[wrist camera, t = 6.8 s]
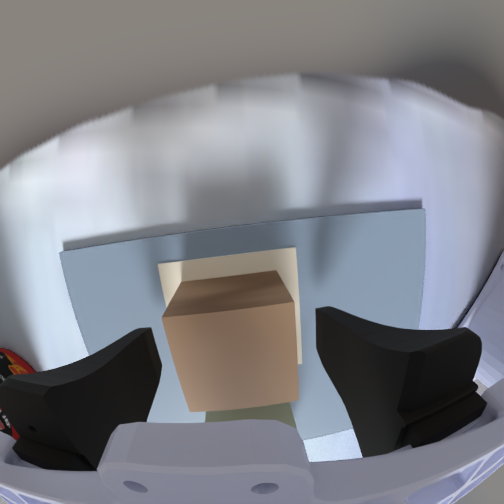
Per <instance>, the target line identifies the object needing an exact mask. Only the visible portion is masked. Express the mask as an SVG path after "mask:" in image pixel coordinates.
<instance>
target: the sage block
mask: <svg viewBox="0 0 504 504" xmlns="http://www.w3.org/2000/svg"><path fill="white" fill-rule="evenodd" d="M245 419H260V420H278V421H280V422H282V423H284V424H287V425H289V426H291V427H294V428H296V429H297V427H296V423H295V420H294V416H293V412H292V409H291V405H290V402H287V403H281V404H274V405H267V406H260V407H252V408H243V409H233V410H221V411H206V415H205V422H222V421H235V420H245ZM297 431H298V430H297Z"/></svg>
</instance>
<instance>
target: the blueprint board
mask: <svg viewBox="0 0 504 504" xmlns="http://www.w3.org/2000/svg"><path fill="white" fill-rule="evenodd" d="M425 248H426V216H425V209H423V208H418V209H404V210H391V211H378V212H366V213H354V214H343V215H333V216H322V217H312V218H302V219H293V220H283V221H274V222H265V223H257V224H248V225H240V226H231V227H223V228H215V229H208V230H200V231H192V232H185V233H177V234H170V235H163V236H156V237H149V238H142V239H136V240H129V241H122V242H116V243H110V244H103V245H97V246H91V247H85V248H79V249H73V250H67V251H62V252H60V253H59V254H60V259H61V264H62V268H63V273H64V277H65V281H66V285H67V289H68V293H69V296H70V300H71V303H72V307H73V310H74V313H75V316H76V320H77V323H78V326H79V329H80V332H81V334H82V337H83V340H84V343H85V345H86V348H87V351H88V353H89V356H90V355H92V354H94V353H96V352H97V351H99V350H101V349H103V348H105V347H106V346H108V345H110V344H111V343H113V342H115V341H116V340H118V339H120V338H121V337H123V336H124V335H126V334H128V333H129V332H131V331H133V330H135V329H138V328H146V327H151V328H152V331H153V335H154V339H155V342H156V346H157V349H158V352H159V356H160V359H161V362H162V371H161V377H160V383H159V386H158V389H157V392H156V395H155V398H154V401H153V404H152V407H151V410H150V413H149V416H148V419H147V422H151V423H204V422H205V415H206V412H190V411H189V408H188V405H187V402H186V400H185V397H184V394H183V391H182V388H181V385H180V381H179V378H178V375H177V372H176V369H175V365H174V362H173V358H172V355H171V352H170V348H169V344H168V341H167V337H166V333H165V330H164V326H163V322H162V318H161V317H162V315H163V314H164V312H165V310H166V308H167V306H168V304H169V303H170V301H171V299H172V297H173V295H174V294H175V292H176V290H177V288H178V287H179V285H180V283H181V282H184V281H193V280H201V279H210V278H218V277H226V276H234V275H242V274H250V273H258V272H266V271H273V270H277V272H278V274H279V276H280V277H281V279H282V281H283V283H284V284H285V286H286V288H287V290H288V291H289V293H290V295H291V297H292V298H293V300H294V303H295V319H296V337H297V357H298V382H299V400H298V401H292V402H290V405H291V409H292V412H293V416H294V420H295V423H296V427H297V430H298V433H299V435H300V437H301V439H302V440H307V439H312V438H317V437H321V436H326V435H330V434H334V433H338V432H341V431H345V430H349V429H352V428H353V426H352V423H351V421H350V418H349V415H348V413H347V410H346V408H345V405H344V403H343V401H342V399H341V397H340V396H339V394H338V392H337V390H336V389H335V387H334V385H333V383H332V382H331V380H330V378H329V376H328V374H327V373H326V371H325V369H324V367H323V365H322V363H321V360H320V358H319V355H318V352H317V349H316V316H315V308H320V307H326V306H331V307H334V308H337V309H340V310H342V311H345V312H347V313H350V314H352V315H355V316H357V317H360V318H363V319H366V320H369V321H372V322H375V323H379V324H383V325H387V326H392V327H397V328H404V329H414V330H418V328H419V321H420V314H421V305H422V296H423V285H424V271H425Z"/></svg>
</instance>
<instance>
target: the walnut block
mask: <svg viewBox="0 0 504 504" xmlns="http://www.w3.org/2000/svg"><path fill="white" fill-rule="evenodd" d="M161 318H162V322H163V326H164V330H165V333H166V337H167V341H168V344H169V348H170V352H171V355H172V358H173V362H174V365H175V369H176V372H177V375H178V378H179V381H180V385H181V388H182V391H183V394H184V397H185V400H186V402H187V405H188V408H189V411H190V412H206V411H221V410H233V409H243V408H252V407H260V406H267V405H274V404H281V403H287V402H292V401H298V400H299V382H298V357H297V337H296V319H295V303H294V300H293V298H292V297H291V295H290V293H289V291H288V290H287V288H286V286H285V284H284V283H283V281H282V279H281V277H280V276H279V274H278V272H277V270H273V271H266V272H258V273H250V274H242V275H234V276H226V277H218V278H210V279H201V280H193V281H184V282H181V283H180V285H179V287H178V288H177V290H176V292H175V294H174V295H173V297H172V299H171V301H170V303H169V304H168V306H167V308H166V310H165V312H164V314H163V315H162V317H161Z"/></svg>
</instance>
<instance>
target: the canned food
mask: <svg viewBox="0 0 504 504" xmlns="http://www.w3.org/2000/svg"><path fill="white" fill-rule="evenodd" d="M29 373H36V372H35V371H34V370H33V369H32V367H31V366H30V365H29V364H28V363H27V362H25V361H24V360H23V359H22V358H21V357H19V356H18V355H16V354H15V353H13V352H11V351H9V350H7V349H4V348H0V384H1V383H2V382H3V381H4V380H5V379H6V378H7V377H8V376H10V375H18V374H29ZM0 431H1V432H3V433H5V434H7V435H9V436H11V437H13V438H14V439H15V440H16V441H17V440H18V438H19V437H20V436H19V434H18V433H17V432H16V430H15V429H14V427H13V426H12V424H11V423H10V422H9V420H8V419H7V417H6V415H5V414H4V412H3V411H2V409H1V407H0ZM4 502H5V501H4V500H3V499H2V498H1V497H0V504H3V503H4Z"/></svg>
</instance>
